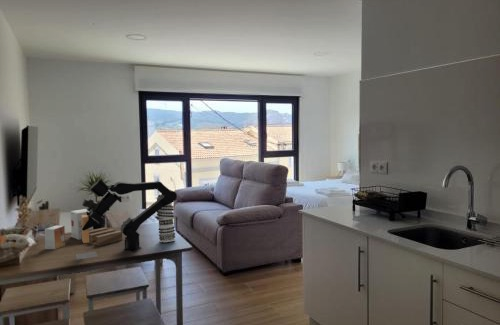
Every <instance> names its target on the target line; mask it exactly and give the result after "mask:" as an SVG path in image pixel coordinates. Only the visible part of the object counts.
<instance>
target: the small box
mask: <svg viewBox="0 0 500 325" xmlns="http://www.w3.org/2000/svg"><path fill="white" fill-rule="evenodd" d="M65 230H66V229H65V225H58V224H57V225H56V224H55V225H53V226H50V227H47V228H45V229H44V244H45V250H56V249H59V248H62V247H65V246H66V231H65Z"/></svg>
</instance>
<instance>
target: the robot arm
mask: <svg viewBox="0 0 500 325" xmlns="http://www.w3.org/2000/svg"><path fill="white" fill-rule="evenodd" d="M88 189H89V191H90V192H92V193H93V195H95V196H97V197H98V198H100V197H101V199H100V200H97V201H94V199H91V198H89V199H88V198H84V199H83V202H82V204H81V205H82V207H85V208H86V209H87V211H89V212H87V211H86V212H87V216H88V221H87V222H86V224H85V225H84V227H83V228H82V230H83V231H84V230H86V229H89V228H91V227H93V228H94V227H95V226H97V225H102V224H103V223H104V221H105V220H104V215H105V214H106V213H107V212H109V211H110V209H111V208H112V206H114V204H115V203H116V202H117V201H118V202H119V203H122V196H123V195H127V194H130V193H133V192H139V191H150V190H151V191H152V190H154V191H155V190H157V191H158V192H159V193H160V194H162V195H161V196H160V197H159V199H158V200H157V199H156V201H155V202H153V203H152V204H151V205H150V206H148V207H147V208H146V209H144V210H143V211H141V212H140V214H138V215H137V216H136V217H134V218H131V217H128V218H127V219H125V221H123V222H122V224H121V225H120V231H122V235H124V236H125V237H124V248H123V251H129V252H136V251H138V250H141V249H142V246H140V233H139V232H138V231H137V230H138V229H139V228H140V226H141V225H142V224H143V223H144V222H146V221H147V220H148V219H150V218H151V217H152V216H153V215H155V214H157V211H158V210H159V209H161V208H162V207H163V206H166V205H168V204H170V203H172V204H173V203H174V202H175V201H176V200H177V198H178V194H177V192H176V191H174V190H171V189H169V188H168V187H167V186H166V185H164V184H163V182H161V181H160V180H156V181H146V182H127V181H117V182H115V183H114V184H111V185H107V184H106V183H104V181H103V179H98V180H97V181H96V182H94V183H93V184H91V186H90V188H88ZM121 195H122V196H121ZM81 227H82V225H81Z"/></svg>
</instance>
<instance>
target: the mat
mask: <svg viewBox="0 0 500 325" xmlns="http://www.w3.org/2000/svg"><path fill="white" fill-rule="evenodd" d="M98 256H99V255H98V254H97V252H96V251H89V252H83V253H75V260H76V261H78V260H86V259H91V258H98Z"/></svg>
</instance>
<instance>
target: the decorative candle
mask: <svg viewBox="0 0 500 325" xmlns="http://www.w3.org/2000/svg"><path fill="white" fill-rule="evenodd" d="M161 195H162V194H161V193H160V194H158V195H157V197H156V201H157V200H158V199H159V197H160V196H161ZM174 210H175V209H174V205H173V202H172V203H170V204H168V205H166V206H163V207H162V208H161V209H159V210H158V211H157V212H156V215H157V221H158V237H159V238H158V239H159V242H160V243H170V242H174V241H176V233H175V231H176V230H175V228H176V227H175V224H174V217H175V215H174V212H173V211H174Z"/></svg>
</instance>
